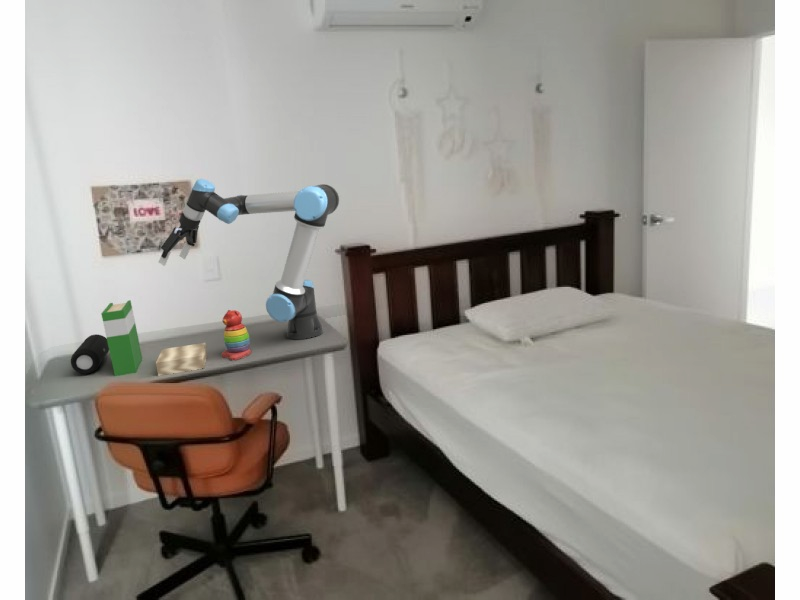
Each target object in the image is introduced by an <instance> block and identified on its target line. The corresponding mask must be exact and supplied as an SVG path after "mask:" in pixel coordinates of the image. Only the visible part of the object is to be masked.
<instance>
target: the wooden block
mask: <svg viewBox="0 0 800 600" xmlns="http://www.w3.org/2000/svg"><path fill="white" fill-rule="evenodd" d="M207 354H208V349H207V344H206V342H201V343H194V344H187V345H182V346H174V347H168V348H162V350H160V353H159V356H158V358H157V360H156V361H155V366H156V372H157V377H160V375H161V376H167V375H174V374H179V373H185V371H186V372H191V370H192V371H197V369H199V370H203V369H202V368H204V367H205V366H206V364H205V362H206V363H207V359H206V358H208V355H207ZM204 369H205V368H204ZM173 373H174V374H173ZM166 374H167V375H166Z"/></svg>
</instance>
